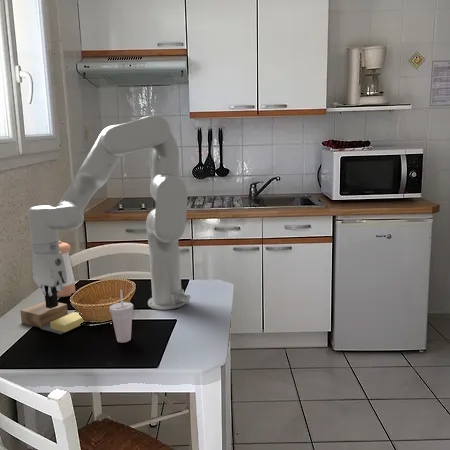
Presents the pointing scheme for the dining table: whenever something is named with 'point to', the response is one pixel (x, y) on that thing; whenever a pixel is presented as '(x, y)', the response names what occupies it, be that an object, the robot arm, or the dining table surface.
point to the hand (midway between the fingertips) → (52, 306)
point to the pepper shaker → (69, 285)
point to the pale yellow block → (67, 322)
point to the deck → (42, 314)
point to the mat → (48, 328)
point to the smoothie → (122, 319)
